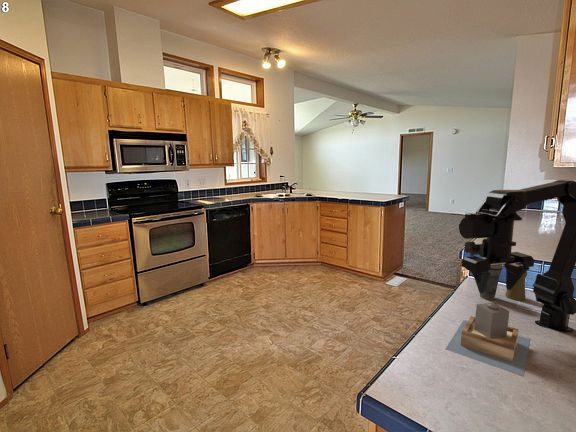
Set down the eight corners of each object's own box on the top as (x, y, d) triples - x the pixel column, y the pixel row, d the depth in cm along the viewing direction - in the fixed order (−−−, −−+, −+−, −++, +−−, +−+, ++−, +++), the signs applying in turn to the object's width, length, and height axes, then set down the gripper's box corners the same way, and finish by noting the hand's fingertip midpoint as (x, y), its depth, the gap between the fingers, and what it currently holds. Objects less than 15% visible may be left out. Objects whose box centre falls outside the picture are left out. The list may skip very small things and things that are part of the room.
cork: (529, 301, 109) (533, 271, 107) (509, 300, 110) (513, 270, 109) (520, 294, 115) (523, 265, 113) (502, 293, 116) (505, 264, 114)
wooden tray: (469, 328, 89) (470, 316, 89) (517, 342, 82) (518, 329, 82) (460, 345, 81) (461, 331, 80) (512, 362, 74) (514, 347, 73)
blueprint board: (463, 322, 94) (463, 320, 94) (529, 341, 84) (530, 338, 84) (444, 351, 79) (445, 348, 79) (523, 379, 69) (523, 376, 69)
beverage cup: (499, 303, 108) (505, 246, 105) (474, 298, 111) (480, 244, 108) (498, 295, 114) (504, 242, 111) (475, 291, 118) (480, 239, 114)
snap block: (490, 327, 84) (493, 299, 83) (506, 337, 79) (509, 308, 78) (474, 329, 83) (476, 301, 82) (489, 339, 78) (492, 309, 77)
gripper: (501, 228, 95) (497, 278, 97) (448, 233, 91) (445, 284, 93) (538, 236, 84) (532, 291, 86) (480, 242, 80) (475, 299, 82)
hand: (495, 291), depth 87 cm, fingers open, 9 cm apart
